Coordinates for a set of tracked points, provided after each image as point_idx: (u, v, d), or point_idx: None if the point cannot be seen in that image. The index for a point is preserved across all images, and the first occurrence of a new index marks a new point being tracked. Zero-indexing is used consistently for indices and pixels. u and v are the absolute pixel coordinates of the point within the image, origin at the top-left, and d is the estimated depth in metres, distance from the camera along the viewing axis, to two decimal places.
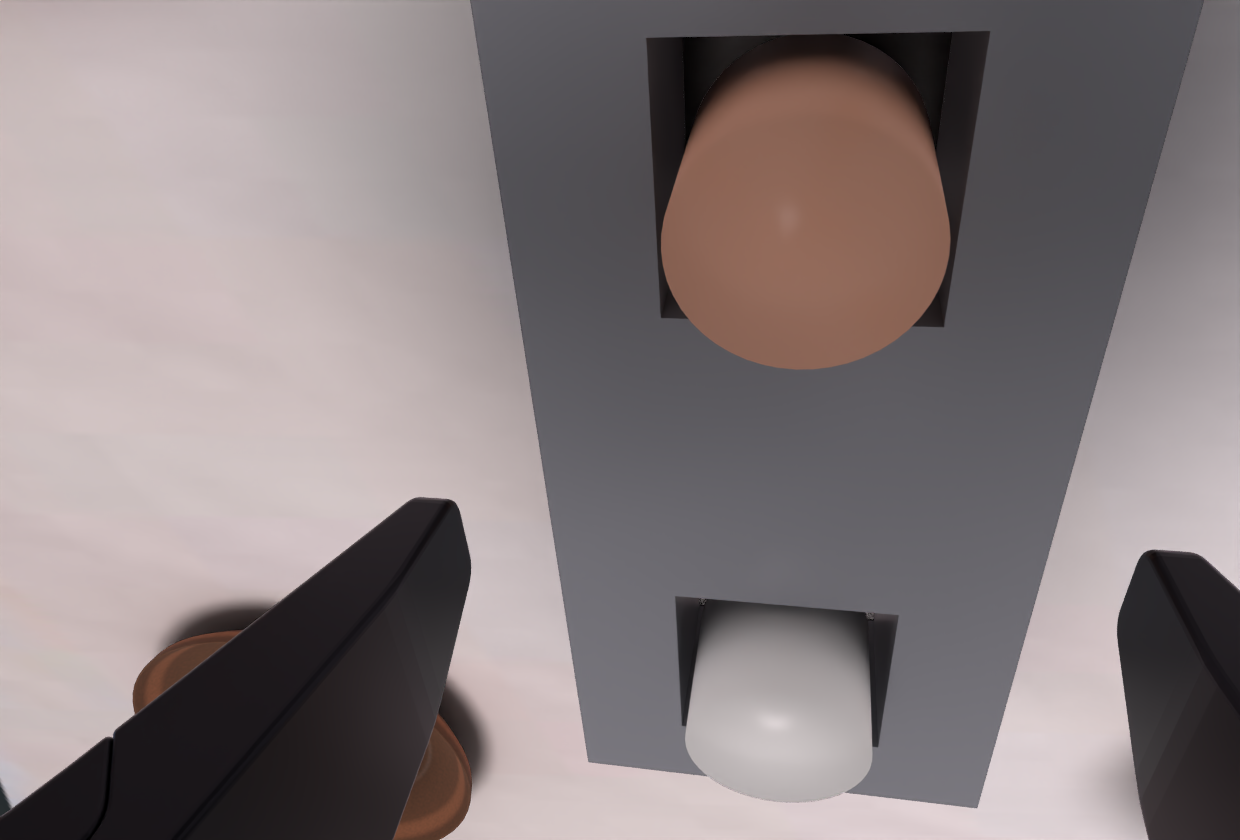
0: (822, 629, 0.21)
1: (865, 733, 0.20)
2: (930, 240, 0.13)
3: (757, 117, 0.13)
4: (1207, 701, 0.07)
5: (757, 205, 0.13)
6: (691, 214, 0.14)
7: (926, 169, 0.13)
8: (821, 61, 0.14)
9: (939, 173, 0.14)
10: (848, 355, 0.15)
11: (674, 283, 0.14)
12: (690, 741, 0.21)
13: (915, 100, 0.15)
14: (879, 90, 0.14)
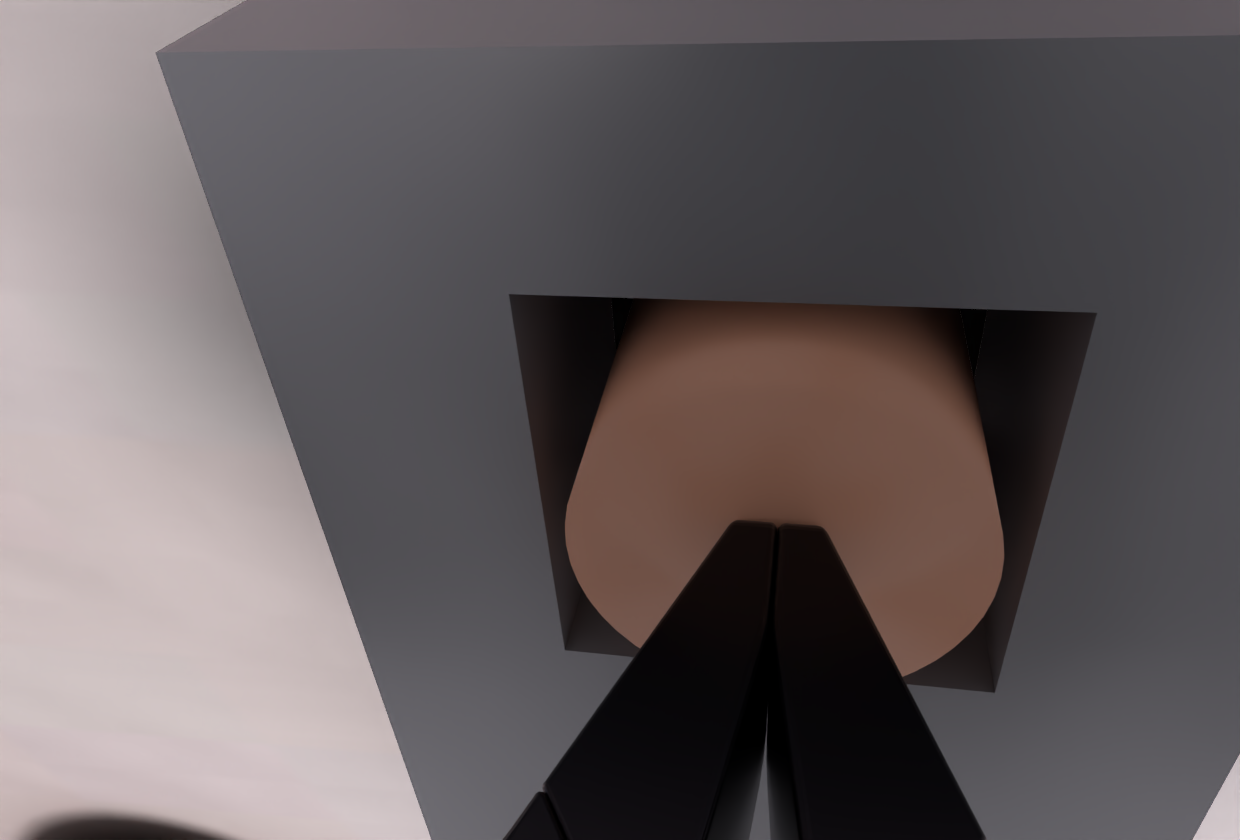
0: None
1: None
2: (973, 557, 0.09)
3: (703, 379, 0.08)
4: (773, 659, 0.07)
5: (706, 498, 0.09)
6: (608, 503, 0.09)
7: (970, 468, 0.08)
8: None
9: (983, 433, 0.09)
10: None
11: (587, 584, 0.10)
12: None
13: None
14: (893, 314, 0.09)
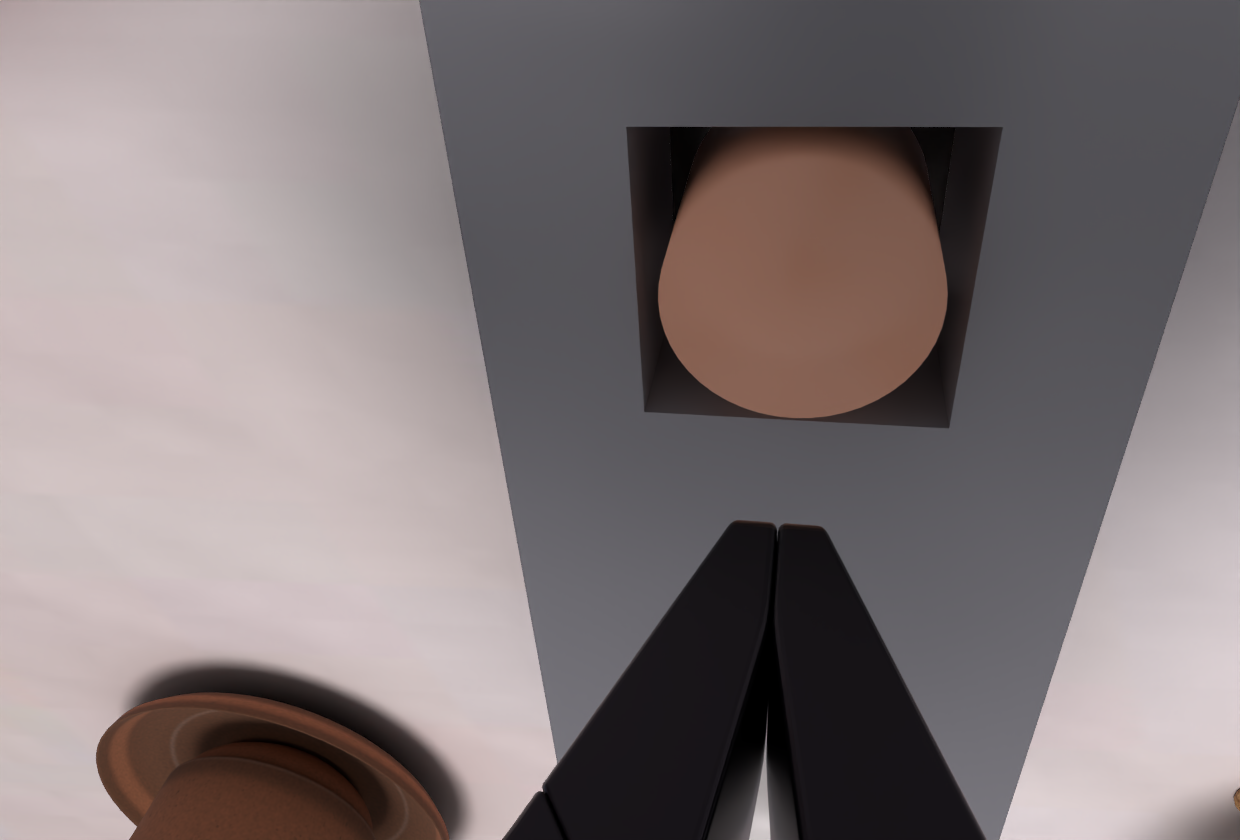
0: None
1: None
2: (927, 295, 0.13)
3: (755, 173, 0.13)
4: (773, 659, 0.07)
5: (754, 258, 0.13)
6: (688, 266, 0.14)
7: (923, 226, 0.13)
8: None
9: (936, 225, 0.14)
10: (845, 405, 0.15)
11: (671, 333, 0.14)
12: None
13: (913, 150, 0.15)
14: (877, 143, 0.14)
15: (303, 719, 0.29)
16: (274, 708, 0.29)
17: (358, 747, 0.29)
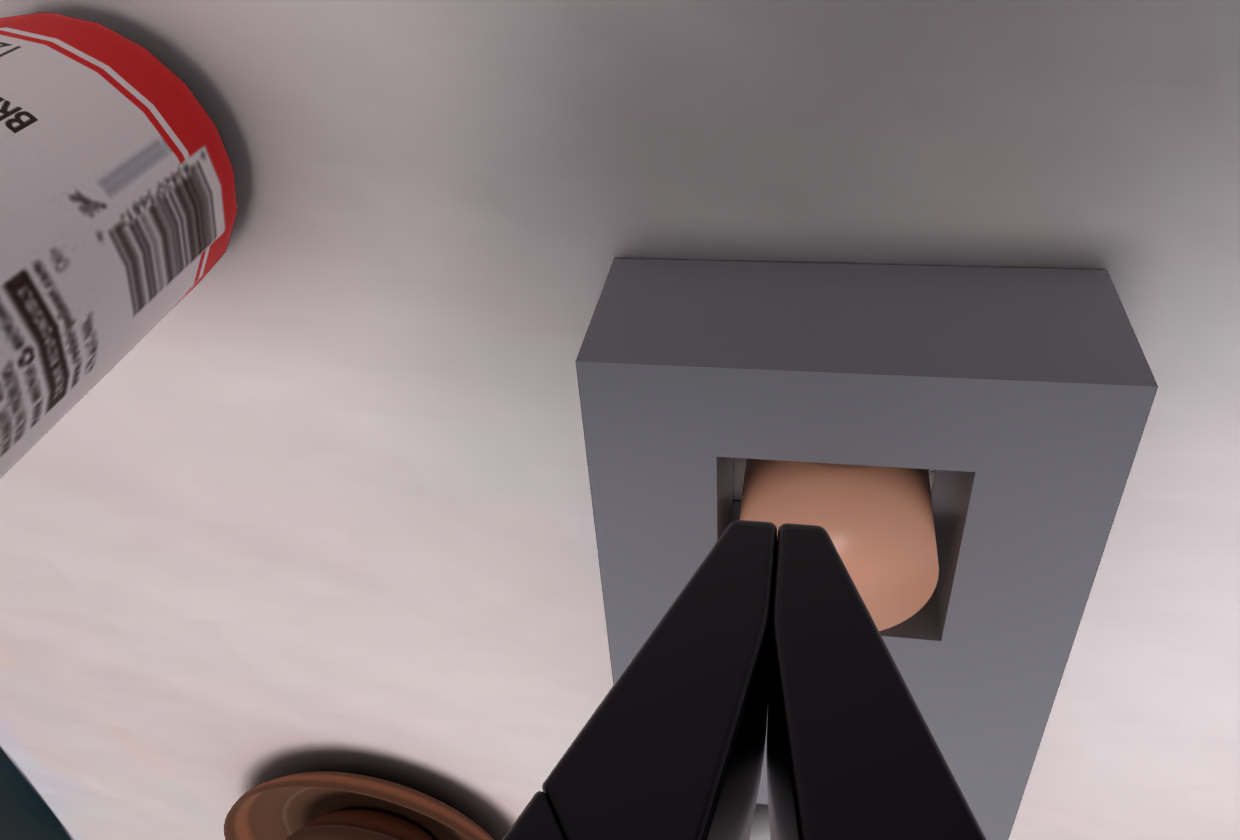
0: None
1: None
2: (925, 569, 0.19)
3: (806, 491, 0.19)
4: (773, 659, 0.07)
5: None
6: None
7: (922, 531, 0.18)
8: None
9: (931, 510, 0.20)
10: None
11: None
12: None
13: None
14: None
15: (407, 796, 0.34)
16: (383, 787, 0.34)
17: (452, 819, 0.35)
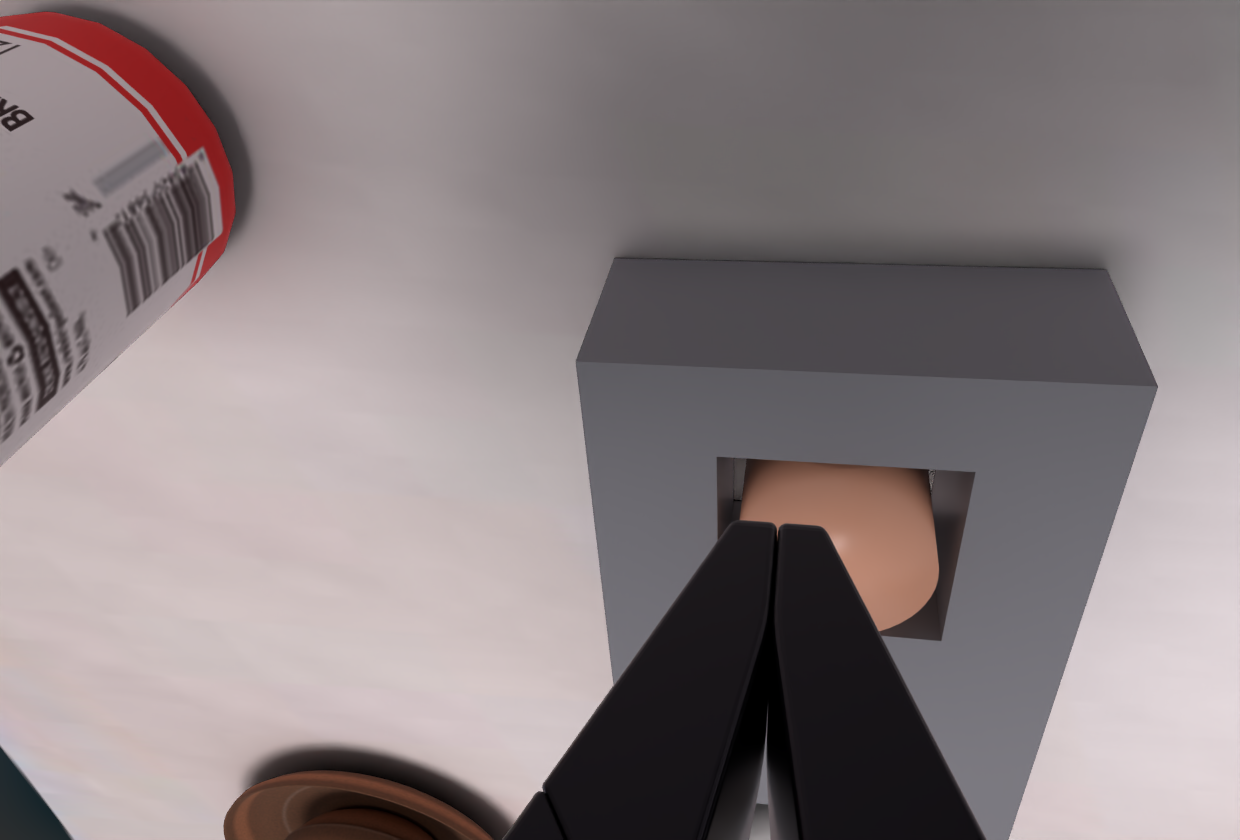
0: None
1: None
2: (925, 569, 0.19)
3: (806, 491, 0.19)
4: (773, 659, 0.07)
5: None
6: None
7: (922, 531, 0.18)
8: None
9: (931, 510, 0.20)
10: None
11: None
12: None
13: None
14: None
15: (406, 795, 0.34)
16: (382, 786, 0.34)
17: (451, 818, 0.35)
